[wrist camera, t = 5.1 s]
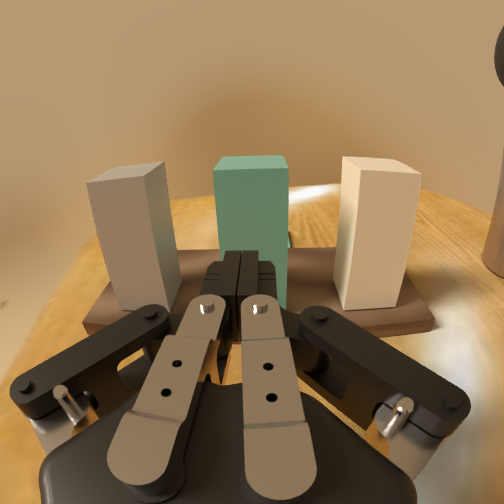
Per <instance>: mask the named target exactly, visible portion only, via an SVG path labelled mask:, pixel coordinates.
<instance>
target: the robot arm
mask: <svg viewBox="0 0 504 504" xmlns="http://www.w3.org/2000/svg"><path fill="white" fill-rule="evenodd" d="M494 61H495V69H496V73H497V76H498V78H499V80H500V82H501V84H502V85H503V86H504V27H503V28H502V30H501V32H500V34H499V36H498V39H497V43H496V47H495V55H494ZM482 260H483V262H484V263H485V265H486V266H487V267H488V268H489V269H490V270H492V271H493V272H494V273H496V274H497V275H499V276H501V277H503V278H504V150H503V159H502V167H501V174H500V180H499V186H498V191H497V197H496V202H495V206H494V211H493V215H492V220H491V224H490V228H489V231H488V235H487V239H486V243H485V246H484V250H483V253H482ZM239 333H240V342H241V351H242V383H238V384H232V385H225V381H226V377H227V372H228V368H229V363H230V358H231V352H230V351H231V347H232V342H238V341H239ZM141 348H142V349H143V352H144V355H143V356H141V357H140V358H138V359H137V360H135V361H134V362H132V363H130V364H129V365H127V366H126V367H124V368H123V369H121V370H119V371H118V372H117V367H118V364H119V363H120V362H121V361H122V360H124V359H125V358H127V357H128V356H130V355H132V354H133V353H135V352H136V351H138V350H140V349H141ZM297 376H298V377H299V378H300V379H301V380H302V381H304V382H305V383H306V384H307V385H308V386H310V387H311V388H312V389H313V390H315V391H316V392H317V393H318V394H319V395H321V396H322V397H323V398H324V399H326V400H327V401H328V402H329V403H331V404H332V405H333V406H334V407H336V408H337V409H338V410H339V411H341V412H342V413H343V414H344V415H346V416H347V417H348V418H350V419H351V420H352V421H353V422H355V423H356V424H357V425H359V426H360V427H361V428H363V429H364V430H365V431H366V441H365V440H364V439H363V438H362V437H360V436H359V435H358V434H357V433H356V432H354V431H353V430H352V429H351V428H350V427H348V426H347V425H346V424H345V423H344V422H343V421H341V420H340V419H339V418H338V417H337V416H336V415H334V414H333V413H332V412H331V411H330V410H329V409H328V408H326V407H325V406H324V405H323V404H322V403H321V402H319V401H318V400H316V399H315V398H314V397H312V396H310V395H308V394H306V393H303V392H301V391H299V386H298V381H297ZM10 397H11V399H12V400H13V401H14V403H15V404H16V405H17V406H18V407H19V409H20V410H21V411H22V413H23V414H24V416H25V417H26V418H27V419H28V420H29V421H30V423H31V424H32V426H33V428H34V430H35V432H36V435H37V437H38V439H39V441H40V443H41V445H42V447H43V449H44V451H45V453H46V455H47V456H46V457H45V459H44V460H43V462H42V464H41V467H40V471H39V488H40V494H41V504H417V492H416V489H415V486H414V484H413V482H412V481H413V480H414V479H415V478H416V476H417V475H418V474H419V473H420V471H421V470H422V469H423V467H424V466H425V465H426V464H427V462H428V461H429V459H430V458H431V457H432V455H433V454H434V453H435V452H436V451H437V450H438V448H439V447H440V446H441V445H442V444H443V443H444V442H445V441H446V440H447V439H448V438H449V437H450V436H451V434H452V433H453V432H454V431H455V430H456V429H457V428H458V426H459V425H460V424H461V423H462V422H463V421H464V419H465V418H466V417H467V416H468V414H469V412H470V408H471V403H470V399H469V397H468V395H467V394H466V393H465V392H464V391H463V390H462V389H460V388H459V387H457V386H455V385H454V384H452V383H451V382H449V381H447V380H446V379H444V378H442V377H441V376H439V375H437V374H436V373H434V372H433V371H431V370H429V369H428V368H426V367H424V366H423V365H421V364H420V363H418V362H416V361H415V360H413V359H411V358H410V357H408V356H407V355H405V354H403V353H402V352H400V351H399V350H397V349H395V348H394V347H392V346H390V345H389V344H387V343H386V342H384V341H382V340H381V339H379V338H378V337H376V336H374V335H373V334H371V333H369V332H368V331H366V330H365V329H363V328H361V327H360V326H358V325H357V324H355V323H353V322H352V321H350V320H349V319H347V318H345V317H344V316H342V315H340V314H339V313H337V312H336V311H334V310H332V309H331V308H328V307H325V306H318V305H317V306H310V307H307V308H305V309H304V310H303V311H302V312H301V313H300V314H298V313H293V312H290V311H287V310H285V309H284V308H282V307H281V306H280V305H279V303H278V300H277V285H276V270H275V266H274V265H273V263H272V262H271V261H259V251H258V250H243V251H241V250H227V251H225V254H224V259H223V261H214V262H213V263H211V264H210V265H209V266H208V268H207V271H206V275H205V277H204V281H203V284H202V287H201V291H200V294H199V296H198V297H196V298H194V299H193V300H192V301H191V302H190V303H189V305H188V308H187V310H185V311H182V312H177V313H171V314H168V311H167V309H166V308H165V307H164V306H162V305H158V304H149V305H145V306H142V307H140V308H139V309H137V310H135V311H133V312H131V313H130V314H128V315H126V316H124V317H122V318H121V319H119V320H117V321H115V322H114V323H112V324H110V325H108V326H106V327H105V328H103V329H101V330H99V331H98V332H96V333H94V334H92V335H90V336H89V337H87V338H85V339H83V340H82V341H80V342H78V343H76V344H74V345H73V346H71V347H69V348H67V349H66V350H64V351H62V352H60V353H59V354H57V355H55V356H53V357H51V358H50V359H48V360H46V361H44V362H43V363H41V364H39V365H37V366H36V367H34V368H32V369H30V370H29V371H27V372H25V373H23V374H22V375H20V376H18V377H17V378H16V379H15V380H14V381H13V383H12V384H11V387H10Z"/></svg>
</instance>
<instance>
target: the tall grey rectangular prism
mask: <svg viewBox="0 0 504 504" xmlns="http://www.w3.org/2000/svg"><path fill="white" fill-rule="evenodd" d="M87 189H88V194H89V198H90V203H91V208H92V213H93V217H94V221H95V226H96V230H97V234H98V238H99V242H100V245H101V249H102V253H103V256H104V260H105V264H106V267H107V270H108V274H109V277H110V280H111V283H112V287H113V290H114V293H115V296H116V299H117V302H118V305H119V308H120V310H134V311H135V310H137V309H139V308H140V307H142V306H145V305H149V304H158V305H162V306H164V307H165V308H166V309H167V311H168V312H170V311H171V308H172V305H173V303H174V300H175V298H176V295H177V292H178V290H179V287H180V285H181V282H182V277H181V271H180V266H179V260H178V254H177V248H176V242H175V236H174V229H173V223H172V216H171V209H170V202H169V194H168V187H167V179H166V170H165V162H164V161H163V162H154V163H144V164H136V165H128V166H121V167H114V168H112V169H110V170H108V171H106V172H105V173H103V174H101V175H99V176H97V177H96V178H94V179H92V180H90V181H89V182H87Z"/></svg>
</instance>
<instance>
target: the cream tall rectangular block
mask: <svg viewBox="0 0 504 504" xmlns="http://www.w3.org/2000/svg"><path fill="white" fill-rule="evenodd" d="M421 179H422V174H421V173H419V172H417V171H416V170H414V169H412V168H410V167H409V166H407V165H405V164H403V163H401V162H399V161H397V160H392V159H380V158H379V159H378V158H364V157H344V156H343V161H342V181H341V198H340V211H339V224H338V235H337V245H336V255H335V264H334V273H333V281H334V283H335V286H336V289H337V292H338V295H339V298H340V301H341V304H342V307H343V310H357V309H372V308H386V307H395V306H396V303H397V299H398V296H399V292H400V288H401V284H402V280H403V276H404V272H405V268H406V264H407V259H408V255H409V250H410V246H411V241H412V236H413V230H414V225H415V219H416V214H417V207H418V201H419V194H420V186H421Z"/></svg>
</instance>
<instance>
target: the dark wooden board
mask: <svg viewBox="0 0 504 504" xmlns="http://www.w3.org/2000/svg"><path fill="white" fill-rule="evenodd" d="M177 254H178V260H179V266H180V271H181V277H182V282H181V285H180V287H179V290H178V292H177V295H176V298H175V300H174V303H173V305H172V308H171V311H170V312H168V314H171V313H177V312H182V311H185V310H187V308H188V305H189V303H190V302H191V301H192V300H193V299H194V298H196V297H198V296H199V294H200V291H201V287H202V284H203V281H204V277H205V275H206V271H207V268H208V266H209V265H210V264H211V263H213V262H214V261H221V258H220V249H213V250H177ZM335 255H336V247H331V248H288V259H287V293H286V310H287V311H290V312H293V313H298V314H300V313H301V312H302V311H303V310H304V309H305V308H307V307H310V306H317V305H318V306H325V307H328V308H331V309H332V310H334V311H336V312H337V313H339V314H340V315H342V316H344V317H345V318H347V319H349V320H350V321H352V322H353V323H355V324H357V325H358V326H360V327H361V328H363V329H365V330H366V331H368V332H369V333H371V334H373V335H374V336H376V337H378V338H379V337H389V336H398V335H406V334H414V333H422V332H429V331H430V330H431V327H432V325H433V322H434V320H435V318H434V317H433V315H432V314H431V312H430V310H429V309H428V307H427V306H426V304H425V303H424V301H423V299H422V298H421V296H420V295H419V293H418V292H417V290H416V289H415V287H414V286H413V284H412V283H411V281H410V280H409V278H408V277H407V275H406V274H405V272H404V276H403V280H402V284H401V288H400V292H399V296H398V299H397V303H396V306H395V307H386V308H372V309H357V310H343V307H342V304H341V301H340V298H339V295H338V292H337V289H336V286H335V283H334V281H333V273H334V264H335ZM133 311H134V310H120V308H119V305H118V302H117V299H116V296H115V293H114V290H113V287H112V283H111V281H110V282H109V283H108V285H107V286H106V288H105V289H104V290H103V292H102V293H101V295H100V296H99V298H98V299H97V301H96V302H95V304H94V305H93V307H92V308H91V310H90V311H89V313H88V314H87V316H86V317H85V319H84V320H83V322H82V323H83V325H84V328H85V330H86V332H87V334H90V335H92V334H94V333H96V332H98V331H99V330H101V329H103V328H105V327H106V326H108V325H110V324H112V323H114V322H115V321H117V320H119V319H121V318H122V317H124V316H126V315H128V314H130V313H131V312H133ZM232 344H241V342H240V333H239V341H238V342H232Z"/></svg>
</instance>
